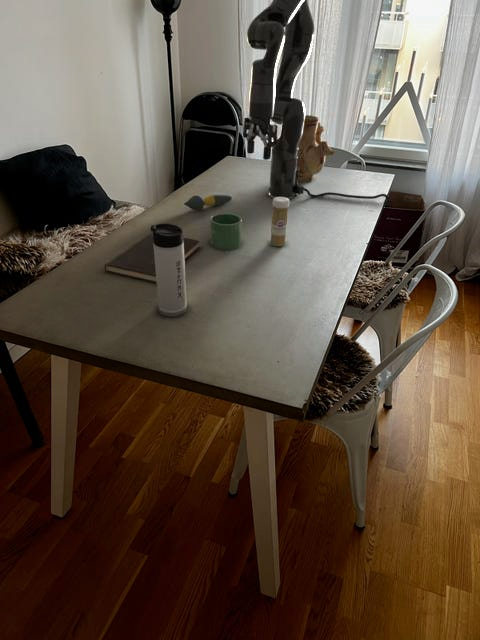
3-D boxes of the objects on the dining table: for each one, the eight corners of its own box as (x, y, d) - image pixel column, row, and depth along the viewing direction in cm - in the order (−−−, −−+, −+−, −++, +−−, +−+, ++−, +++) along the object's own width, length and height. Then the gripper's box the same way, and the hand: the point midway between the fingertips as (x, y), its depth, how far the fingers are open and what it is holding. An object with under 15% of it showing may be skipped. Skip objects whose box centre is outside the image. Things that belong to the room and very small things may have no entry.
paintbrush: (225, 198, 168) (225, 184, 166) (234, 201, 166) (234, 188, 163) (181, 211, 157) (180, 196, 154) (190, 215, 154) (190, 200, 151)
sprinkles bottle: (273, 247, 135) (276, 202, 127) (267, 241, 138) (270, 197, 131) (288, 245, 136) (292, 201, 129) (281, 239, 140) (285, 195, 132)
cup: (233, 235, 141) (233, 211, 137) (246, 246, 135) (246, 222, 131) (206, 240, 138) (205, 215, 134) (218, 252, 131) (218, 226, 127)
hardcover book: (200, 248, 133) (199, 240, 132) (159, 284, 115) (159, 276, 114) (151, 238, 138) (150, 231, 137) (105, 271, 120) (103, 263, 119)
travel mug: (158, 302, 108) (151, 221, 97) (186, 302, 109) (183, 220, 98) (156, 317, 103) (148, 233, 92) (186, 317, 104) (182, 232, 92)
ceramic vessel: (330, 185, 184) (339, 117, 170) (283, 186, 182) (288, 117, 168) (318, 172, 199) (326, 108, 185) (274, 172, 197) (278, 108, 183)
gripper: (286, 103, 136) (281, 160, 145) (257, 96, 145) (254, 150, 154) (266, 104, 132) (262, 163, 141) (237, 97, 142) (235, 152, 150)
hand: (258, 156), depth 147 cm, fingers open, 8 cm apart
